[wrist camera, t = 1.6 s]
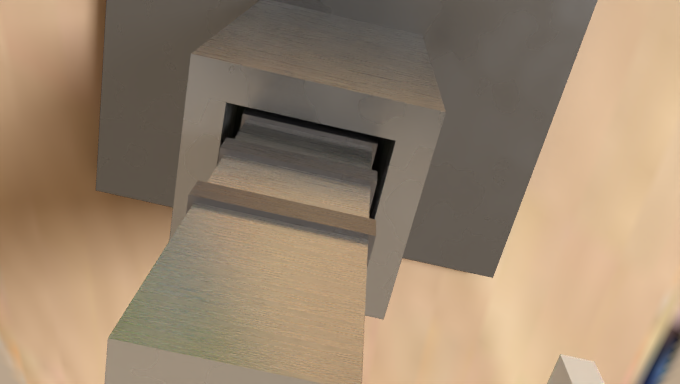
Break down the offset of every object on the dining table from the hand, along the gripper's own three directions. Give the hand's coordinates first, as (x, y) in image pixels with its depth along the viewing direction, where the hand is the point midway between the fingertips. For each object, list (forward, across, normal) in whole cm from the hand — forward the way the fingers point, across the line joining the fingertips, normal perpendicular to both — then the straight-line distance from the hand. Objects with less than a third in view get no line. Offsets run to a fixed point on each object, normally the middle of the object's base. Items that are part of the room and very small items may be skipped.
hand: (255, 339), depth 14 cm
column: (+19, 0, 0) cm, 19 cm away
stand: (+20, 0, 0) cm, 20 cm away
